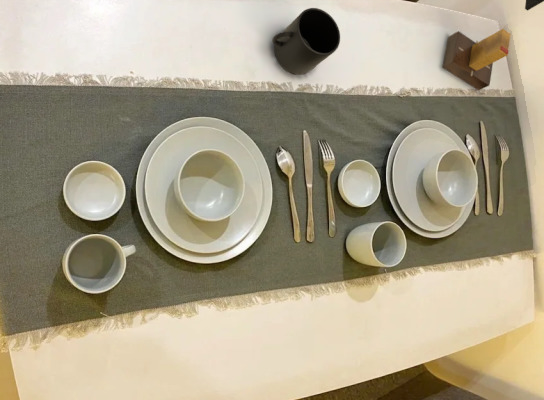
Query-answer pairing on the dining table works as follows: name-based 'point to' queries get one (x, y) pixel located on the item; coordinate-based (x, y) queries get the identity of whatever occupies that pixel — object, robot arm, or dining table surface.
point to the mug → (307, 41)
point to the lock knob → (490, 49)
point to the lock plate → (465, 62)
